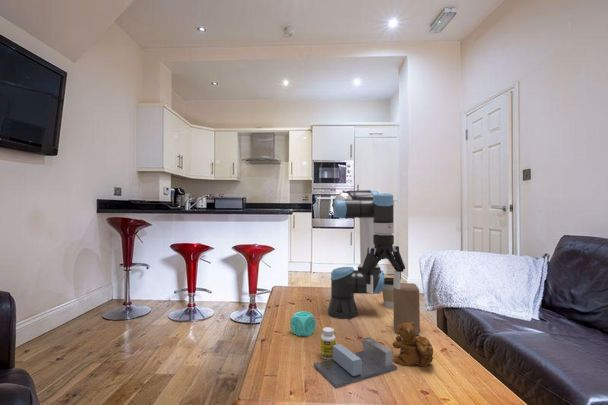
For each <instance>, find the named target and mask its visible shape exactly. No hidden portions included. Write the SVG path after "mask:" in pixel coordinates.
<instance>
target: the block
mask: <svg viewBox="0 0 608 405" xmlns="http://www.w3.org/2000/svg"><path fill="white" fill-rule="evenodd" d="M392 310H393V311H392V312H393V327H394V331H395V333H396V335H397V334H398V332H397V327H398V325H400V324H402V323H406V322H408V323H411V322H414V323H415V325H414V329H415V336H419V335H420V333H421V331H420V329H421V328H420V327H421V326H420V322H421V320H420V316H421V315H420V289H419V287H418V285H417V284H416V283H414V282H413V283H412V282H411V283H410V282H400V289H396V288H394V284H393V308H392ZM398 335H399V334H398Z"/></svg>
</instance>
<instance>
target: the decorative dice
mask: <svg viewBox="0 0 608 405" xmlns="http://www.w3.org/2000/svg"><path fill="white" fill-rule="evenodd" d="M289 321H290V323H289V324H290V328H291V332H292V333H293V334H294V335H295V334H296V335H295V336H297V335H298V337H302V336H304V337H309V336H311V335H312V334H313V332H314V331H315V329H316V324H317V322H316V318H315V317H314V315H313V314H312V313H311V312H310V311H303V310H302V311H297V312H294V313H293V315H291V318H290V320H289Z"/></svg>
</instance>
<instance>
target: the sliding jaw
mask: <svg viewBox="0 0 608 405" xmlns="http://www.w3.org/2000/svg"><path fill="white" fill-rule="evenodd" d="M354 353H355V352H352V351H351V350H349V348H347V347H345V346H344V345H343V344H341V343H339V344H335V345H333V360H334V361H336V362H337V363H338V364H339V365H340V366H341V367H343V368H344V369H345V370H346V371H347V372H349V373H350V374H351V375H352V376H356V375H360V374H361V359H360V358H359V357H358V356H356V355H355V354H354Z"/></svg>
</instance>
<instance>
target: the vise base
mask: <svg viewBox="0 0 608 405" xmlns="http://www.w3.org/2000/svg"><path fill="white" fill-rule="evenodd" d="M362 343H363V344H362V345H363V346H362V350H361V351H358V352H353V353H354V354H355V355H356V356H358V357H359V358H360V359H361V374H360V375H356V376H352V375H351V374H350V373H349V372H347V371H346V370H345V369H344V368H343V367H341V366H340V365H339V364H338V363H337V362H336V361H334V360H333V359H324V360H322V361H318V362H314V363H313V367H314V368H315V370H317V371H318V372H319V373H320V374H321V375H322V376H323V377H324V378H325V379H326V380H327V381H328V382H329V383H330V384H331V385H332V386H333V387H334V389H337V388H341V387H343V386H347V385H351V384H355V383H358V382H360V381H364V380H367V379H371V378H374V377H376V376H377V377H378V376H381V375H384V374H387V373H390V372H394V371H397V370H398V366H397V365H396V364H394V362H393V350H392V349H391V348H389V347H387V346H385V345H383V344H382V343H381V342H379V341H377V340H375V339H374V338H372V337H371V336H370V337H365V338H363V339H362Z"/></svg>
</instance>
